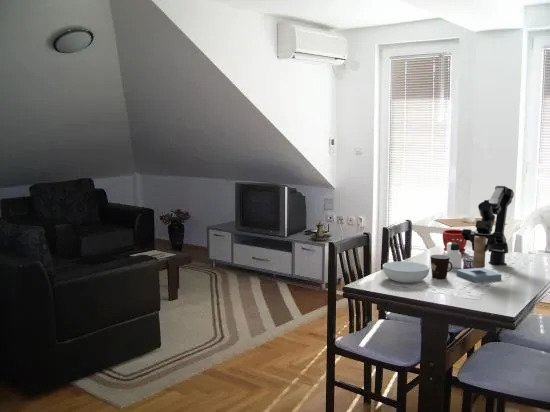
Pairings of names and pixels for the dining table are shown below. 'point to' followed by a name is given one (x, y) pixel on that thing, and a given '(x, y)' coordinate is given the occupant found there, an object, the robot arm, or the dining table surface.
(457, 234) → the plant pot
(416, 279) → the serving bowl
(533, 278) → the dining table surface
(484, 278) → the slate holder block
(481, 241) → the walnut peg
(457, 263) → the medicine bottle
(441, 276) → the coffee mug
